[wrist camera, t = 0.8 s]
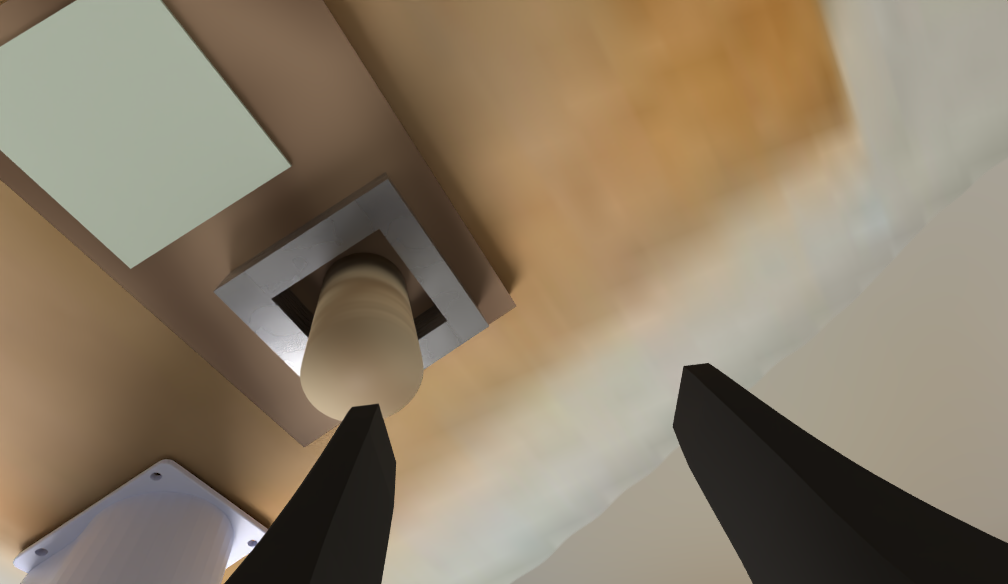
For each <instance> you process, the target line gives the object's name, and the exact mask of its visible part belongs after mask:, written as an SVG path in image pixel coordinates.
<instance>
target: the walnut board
mask: <svg viewBox="0 0 1008 584" xmlns="http://www.w3.org/2000/svg"><path fill="white" fill-rule="evenodd" d="M74 1H76V0H8V1H6V2H5V3H3V4H1V5H0V47H1V46H2V45H4V44H6V43H7V42H9V41H10V40H12V39H14V38H15V37H17V36H19V35H20V34H22V33H24V32H25V31H27V30H28V29H30V28H32V27H33V26H35V25H37V24H38V23H40V22H42V21H43V20H45V19H46V18H48V17H50V16H51V15H53V14H55V13H56V12H58V11H60V10H61V9H63V8H64V7H66V6H68V5H69V4H71V3H73V2H74ZM162 1H163V2H164V3H165V5H166V6H167V7H168V9H169V10H170V11H171V12H172V14H173V15H174V16H175V17H176V19H177V20H178V21H179V23H180V24H181V25H182V26H183V28H184V29H185V30H186V31H187V33H188V34H189V35H190V37H191V38H192V39H193V40H194V42H195V43H196V44H197V45H198V47H199V48H200V49H201V51H202V52H203V53H204V54H205V56H206V57H207V58H208V59H209V61H210V62H211V63H212V65H213V66H214V67H215V68H216V70H217V71H218V72H219V73H220V75H221V76H222V77H223V78H224V80H225V81H226V82H227V84H228V85H229V86H230V87H231V89H232V90H233V91H234V92H235V94H236V95H237V96H238V98H239V99H240V100H241V101H242V103H243V104H244V105H245V106H246V108H247V109H248V110H249V112H250V113H251V114H252V115H253V117H254V118H255V119H256V120H257V122H258V123H259V124H260V126H261V127H262V128H263V129H264V131H265V132H266V133H267V134H268V136H269V137H270V138H271V140H272V141H273V142H274V143H275V145H276V146H277V147H278V148H279V150H280V151H281V152H282V154H283V155H284V156H285V157H286V159H287V160H288V161H289V162H290V164H291V165H292V166H291V167H289V168H288V169H286V170H285V171H283V172H282V173H280V174H278V175H277V176H275V177H274V178H272V179H271V180H269V181H268V182H266V183H264V184H263V185H261V186H260V187H258V188H257V189H255V190H253V191H252V192H250V193H249V194H247V195H246V196H244V197H242V198H241V199H239V200H238V201H236V202H235V203H233V204H231V205H230V206H228V207H227V208H225V209H224V210H222V211H221V212H219V213H217V214H216V215H214V216H213V217H211V218H210V219H208V220H206V221H205V222H203V223H202V224H200V225H199V226H197V227H195V228H194V229H192V230H191V231H189V232H188V233H186V234H184V235H183V236H181V237H180V238H178V239H177V240H175V241H174V242H172V243H170V244H169V245H167V246H166V247H164V248H163V249H161V250H159V251H158V252H156V253H155V254H153V255H152V256H150V257H148V258H147V259H145V260H144V261H142V262H141V263H139V264H138V265H136V266H134V267H133V268H131V269H130V268H129V267H128V266H127V265H126V264H125V263H124V262H123V261H121V260H120V259H119V258H118V257H117V256H116V255H115V254H114V253H113V252H112V251H111V250H109V249H108V248H107V247H106V246H105V245H104V244H103V243H102V242H101V241H100V240H98V239H97V238H96V237H95V236H94V235H93V234H92V233H91V232H90V231H89V230H87V229H86V228H85V227H84V226H83V225H82V224H81V223H80V222H79V221H78V220H77V219H75V218H74V217H73V216H72V215H71V214H70V213H69V212H68V211H67V210H66V209H64V208H63V207H62V206H61V205H60V204H59V203H58V202H57V201H56V200H55V199H54V198H52V197H51V196H50V195H49V194H48V193H47V192H46V191H45V190H44V189H43V188H41V187H40V186H39V185H38V184H37V183H36V182H35V181H34V180H33V179H32V178H30V177H29V176H28V175H27V174H26V173H25V172H24V171H23V170H22V169H21V168H20V167H18V166H17V165H16V164H15V163H14V162H13V161H12V160H11V159H10V158H9V157H7V156H6V155H5V154H4V153H3V152H2V151H1V150H0V180H2V181H3V182H4V183H5V184H6V185H7V186H8V187H10V188H11V189H12V190H13V191H14V192H15V193H16V194H17V195H19V196H20V197H21V198H22V199H23V200H24V201H25V202H27V203H28V204H29V205H30V206H31V207H32V208H33V209H34V210H36V211H37V212H38V213H39V214H40V215H41V216H42V217H44V218H45V219H46V220H47V221H48V222H49V223H50V224H51V225H53V226H54V227H55V228H56V229H57V230H58V231H59V232H61V233H62V234H63V235H64V236H65V237H66V238H67V239H68V240H70V241H71V242H72V243H73V244H74V245H75V246H76V247H78V248H79V249H80V250H81V251H82V252H83V253H84V254H85V255H87V256H88V257H89V258H90V259H91V260H92V261H93V262H95V263H96V264H97V265H98V266H99V267H100V268H101V269H102V270H104V271H105V272H106V273H107V274H108V275H109V276H110V277H112V278H113V279H114V280H115V281H116V282H117V283H118V284H119V285H121V286H122V287H123V288H124V289H125V290H126V291H127V292H129V293H130V294H131V295H132V296H133V297H134V298H135V299H136V300H138V301H139V302H140V303H141V304H142V305H143V306H144V307H146V308H147V309H148V310H149V311H150V312H151V313H152V314H153V315H155V316H156V317H157V318H158V319H159V320H160V321H161V322H163V323H164V324H165V325H166V326H167V327H168V328H169V329H170V330H172V331H173V332H174V333H175V334H176V335H177V336H178V337H180V338H181V339H182V340H183V341H184V342H185V343H186V344H187V345H189V346H190V347H191V348H192V349H193V350H194V351H195V352H197V353H198V354H199V355H200V356H201V357H202V358H203V359H204V360H206V361H207V362H208V363H209V364H210V365H211V366H212V367H214V368H215V369H216V370H217V371H218V372H219V373H220V374H221V375H223V376H224V377H225V378H226V379H227V380H228V381H229V382H231V383H232V384H233V385H234V386H235V387H236V388H237V389H238V390H240V391H241V392H242V393H243V394H244V395H245V396H246V397H248V398H249V399H250V400H251V401H252V402H253V403H254V404H255V405H257V406H258V407H259V408H260V409H261V410H262V411H263V412H265V413H266V414H267V415H268V416H269V417H270V418H271V419H272V420H274V421H275V422H276V423H277V424H278V425H279V426H280V427H282V428H283V429H284V430H285V431H286V432H287V433H288V434H289V435H291V436H292V437H293V438H294V439H295V440H296V441H297V442H299V443H300V444H301V445H302V446H303V447H306V446H307V445H309V444H310V443H312V442H313V441H315V440H316V439H318V438H319V437H321V436H322V435H324V434H325V433H327V432H328V431H330V430H331V429H333V428H334V427H336V426H337V425H339V424H340V423H341V422H342V421H339V420H336V419H333V418H331V417H329V416H326V415H325V414H323V413H322V412H320V411H319V410H318V409H316V408H315V407H314V406H313V405H312V404H311V403H310V401H309V400H308V398H307V397H306V395H305V393H304V391H303V388H302V385H301V379H300V376H299V375H298V374H297V373H296V372H295V371H294V370H292V369H291V368H290V367H289V366H288V365H287V364H286V363H285V362H284V361H283V360H282V359H281V358H280V357H279V356H278V355H277V354H276V353H275V352H274V351H273V350H272V349H271V348H270V347H269V346H268V345H267V344H266V343H265V342H264V341H263V340H262V339H261V338H260V337H259V336H258V335H257V334H256V333H255V332H254V331H253V330H252V329H251V328H250V327H249V326H248V325H247V324H246V323H244V322H243V321H242V320H241V319H240V318H239V317H238V316H237V315H236V314H235V313H234V312H233V311H232V310H231V309H230V308H229V307H228V306H227V305H226V304H225V303H224V302H223V301H222V300H221V299H220V298H219V297H218V296H217V295H216V294H215V293H214V292H213V291H214V290H215V289H216V288H217V287H218V285H219V284H220V283H221V282H222V281H223V280H224V279H225V277H226V276H227V275H228V274H229V273H230V272H231V271H233V270H234V269H236V268H237V267H239V266H240V265H242V264H244V263H245V262H247V261H248V260H250V259H251V258H253V257H254V256H256V255H258V254H259V253H261V252H262V251H264V250H265V249H267V248H268V247H270V246H272V245H273V244H275V243H276V242H278V241H279V240H281V239H282V238H284V237H285V236H287V235H289V234H290V233H292V232H293V231H295V230H296V229H298V228H299V227H301V226H303V225H304V224H306V223H307V222H309V221H310V220H312V219H313V218H315V217H317V216H318V215H320V214H321V213H323V212H324V211H326V210H327V209H329V208H330V207H332V206H334V205H335V204H337V203H338V202H340V201H341V200H343V199H344V198H346V197H348V196H349V195H351V194H352V193H354V192H355V191H357V190H358V189H360V188H361V187H363V186H365V185H366V184H368V183H369V182H371V181H372V180H374V179H375V178H377V177H379V176H380V175H382V174H383V173H385V172H386V173H387V175H388V176H389V178H390V179H391V181H392V182H393V184H394V185H395V187H396V188H397V189H398V191H399V192H400V194H401V195H402V197H403V198H404V200H405V201H406V203H407V204H408V205H409V207H410V208H411V210H412V211H413V213H414V214H415V216H416V217H417V219H418V220H419V222H420V223H421V224H422V226H423V227H424V229H425V230H426V232H427V233H428V235H429V236H430V238H431V239H432V240H433V242H434V243H435V245H436V246H437V248H438V249H439V251H440V252H441V254H442V255H443V256H444V258H445V259H446V261H447V262H448V264H449V265H450V267H451V268H452V270H453V271H454V273H455V274H456V275H457V277H458V278H459V280H460V281H461V283H462V284H463V286H464V287H465V289H466V290H467V291H468V293H469V294H470V296H471V297H472V299H473V300H474V302H475V303H476V305H477V306H478V308H479V309H480V311H481V313H482V315H483V316H484V318H485V320H486V322H487V323H488V325H489V324H490V323H492V322H493V321H495V320H496V319H498V318H500V317H501V316H503V315H504V314H506V313H507V312H509V311H510V310H512V309H513V308H515V307H516V304H515V303H514V301H513V300H512V298H511V296H510V295H509V293H508V292H507V290H506V289H505V287H504V285H503V284H502V282H501V281H500V279H499V278H498V276H497V274H496V273H495V271H494V270H493V268H492V266H491V265H490V263H489V262H488V260H487V259H486V257H485V255H484V254H483V252H482V251H481V249H480V247H479V246H478V244H477V243H476V241H475V240H474V238H473V236H472V235H471V233H470V232H469V230H468V229H467V227H466V225H465V224H464V222H463V221H462V219H461V217H460V216H459V214H458V213H457V211H456V210H455V208H454V206H453V205H452V203H451V202H450V200H449V199H448V197H447V195H446V194H445V192H444V191H443V189H442V187H441V186H440V184H439V183H438V181H437V180H436V178H435V176H434V175H433V173H432V172H431V170H430V169H429V167H428V165H427V164H426V162H425V161H424V159H423V157H422V156H421V154H420V153H419V151H418V150H417V148H416V146H415V145H414V143H413V142H412V140H411V139H410V137H409V135H408V134H407V132H406V131H405V129H404V127H403V126H402V124H401V123H400V121H399V120H398V118H397V116H396V115H395V113H394V112H393V110H392V109H391V107H390V105H389V104H388V102H387V101H386V99H385V97H384V96H383V94H382V93H381V91H380V90H379V88H378V86H377V85H376V83H375V82H374V80H373V79H372V77H371V75H370V74H369V72H368V71H367V69H366V67H365V66H364V64H363V63H362V61H361V60H360V58H359V56H358V55H357V53H356V52H355V50H354V49H353V47H352V45H351V44H350V42H349V41H348V39H347V37H346V36H345V34H344V33H343V31H342V30H341V28H340V26H339V25H338V23H337V22H336V20H335V19H334V17H333V15H332V14H331V12H330V11H329V9H328V7H327V6H326V4H325V3H324V1H323V0H162ZM364 252H366V253H374V254H378V255H380V256H383V257H385V258H387V259H388V260H390V261H391V262H392V263H394V264H395V265H396V266H397V268H398V269H399V270H400V272H401V273H402V275H403V277H404V280H405V284H406V289H407V293H408V297H409V302H410V306H411V311H412V315H413V319H414V318H416V317H417V316H419V315H420V314H422V313H423V312H425V311H426V310H428V309H429V308H431V307H432V306H434V305H435V303H434V302H433V301H432V299H431V298H430V297H429V295H428V294H427V293H426V291H425V290H424V289H423V287H422V286H421V285H420V283H419V282H418V281H417V279H416V278H415V276H414V275H413V274H412V272H411V271H410V270H409V268H408V267H407V266H406V264H405V263H404V262H403V260H402V259H401V258H400V256H399V255H398V254H397V252H396V251H395V249H394V248H393V247H392V245H391V244H390V243H389V241H388V240H387V239H386V237H385V236H384V235H383V233H382V232H381V231H380V229H378V230H376V231H375V232H373V233H372V234H370V235H369V236H367V237H366V238H364V239H363V240H361V241H359V242H358V243H356V244H355V245H353V246H352V247H350V248H349V249H347V250H346V251H344V252H343V253H341V254H339V255H338V256H336V257H335V258H333V259H332V260H330V261H329V262H327V263H326V264H324V265H323V266H321V267H319V268H318V269H316V270H315V271H313V272H312V273H310V274H309V275H307V276H306V277H304V278H303V279H301V280H299V281H298V282H296V283H295V284H293V285H292V286H290V287H289V288H290V290H291V291H292V292H293V293H294V294H295V295H296V296H297V297H298V298H299V299H300V300H301V302H302V303H303V304H304V305H305V306H306V307H307V308H308V309H309V310H310V311H311V312H312V314H313V315H314V314H315V311H316V307H317V303H318V299H319V295H320V292H321V288H322V284H323V280H324V278H325V275H326V273H327V272H328V270H329V269H330V267H331V266H332V265H333V264H334V263H335V262H337V261H338V260H339V259H341V258H343V257H345V256H347V255H350V254H354V253H364Z"/></svg>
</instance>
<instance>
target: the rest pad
mask: <svg viewBox="0 0 1008 584" xmlns="http://www.w3.org/2000/svg"><path fill="white" fill-rule="evenodd" d="M0 150H1V151H2V152H3V153H4V154H5V155H6V156H7V157H9V158H10V159H11V160H12V161H13V162H14V163H15V164H16V165H17V166H18V167H20V168H21V169H22V170H23V171H24V172H25V173H26V174H27V175H28V176H29V177H30V178H32V179H33V180H34V181H35V182H36V183H37V184H38V185H39V186H40V187H41V188H43V189H44V190H45V191H46V192H47V193H48V194H49V195H50V196H51V197H52V198H54V199H55V200H56V201H57V202H58V203H59V204H60V205H61V206H62V207H63V208H64V209H66V210H67V211H68V212H69V213H70V214H71V215H72V216H73V217H74V218H75V219H77V220H78V221H79V222H80V223H81V224H82V225H83V226H84V227H85V228H86V229H87V230H89V231H90V232H91V233H92V234H93V235H94V236H95V237H96V238H97V239H98V240H100V241H101V242H102V243H103V244H104V245H105V246H106V247H107V248H108V249H109V250H111V251H112V252H113V253H114V254H115V255H116V256H117V257H118V258H119V259H120V260H121V261H123V262H124V263H125V264H126V265H127V266H128V267H129V268H130V269H131V268H133V267H134V266H136V265H138V264H139V263H141V262H142V261H144V260H145V259H147V258H148V257H150V256H152V255H153V254H155V253H156V252H158V251H159V250H161V249H163V248H164V247H166V246H167V245H169V244H170V243H172V242H174V241H175V240H177V239H178V238H180V237H181V236H183V235H184V234H186V233H188V232H189V231H191V230H192V229H194V228H195V227H197V226H199V225H200V224H202V223H203V222H205V221H206V220H208V219H210V218H211V217H213V216H214V215H216V214H217V213H219V212H221V211H222V210H224V209H225V208H227V207H228V206H230V205H231V204H233V203H235V202H236V201H238V200H239V199H241V198H242V197H244V196H246V195H247V194H249V193H250V192H252V191H253V190H255V189H257V188H258V187H260V186H261V185H263V184H264V183H266V182H268V181H269V180H271V179H272V178H274V177H275V176H277V175H278V174H280V173H282V172H283V171H285V170H286V169H288V168H289V167H291V166H292V165H291V164H290V162H289V161H288V160H287V159H286V157H285V156H284V155H283V154H282V152H281V151H280V150H279V148H278V147H277V146H276V145H275V143H274V142H273V141H272V140H271V138H270V137H269V136H268V134H267V133H266V132H265V131H264V129H263V128H262V127H261V126H260V124H259V123H258V122H257V120H256V119H255V118H254V117H253V115H252V114H251V113H250V112H249V110H248V109H247V108H246V106H245V105H244V104H243V103H242V101H241V100H240V99H239V98H238V96H237V95H236V94H235V92H234V91H233V90H232V89H231V87H230V86H229V85H228V84H227V82H226V81H225V80H224V78H223V77H222V76H221V75H220V73H219V72H218V71H217V70H216V68H215V67H214V66H213V65H212V63H211V62H210V61H209V59H208V58H207V57H206V56H205V54H204V53H203V52H202V51H201V49H200V48H199V47H198V45H197V44H196V43H195V42H194V40H193V39H192V38H191V37H190V35H189V34H188V33H187V31H186V30H185V29H184V28H183V26H182V25H181V24H180V23H179V21H178V20H177V19H176V17H175V16H174V15H173V14H172V12H171V11H170V10H169V9H168V7H167V6H166V5H165V3H164V2H163V1H162V0H76V1H74V2H73V3H71V4H69V5H68V6H66V7H64V8H63V9H61V10H60V11H58V12H56V13H55V14H53V15H51V16H50V17H48V18H46V19H45V20H43V21H42V22H40V23H38V24H37V25H35V26H33V27H32V28H30V29H28V30H27V31H25V32H24V33H22V34H20V35H19V36H17V37H15V38H14V39H12V40H10V41H9V42H7V43H6V44H4V45H2V46H1V47H0Z"/></svg>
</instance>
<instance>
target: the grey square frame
mask: <svg viewBox="0 0 1008 584" xmlns="http://www.w3.org/2000/svg"><path fill="white" fill-rule="evenodd" d="M378 229H380V231H381V232H382V233H383V235H384V236H385V237H386V239H387V240H388V241H389V243H390V244H391V245H392V247H393V248H394V249H395V251H396V252H397V254H398V255H399V256H400V258H401V259H402V260H403V262H404V263H405V264H406V266H407V267H408V268H409V270H410V271H411V272H412V274H413V275H414V276H415V278H416V279H417V281H418V282H419V283H420V285H421V286H422V287H423V289H424V290H425V291H426V293H427V294H428V295H429V297H430V298H431V299H432V301H433V302H434V303H435V305H434V306H432V307H431V308H429V309H428V310H426V311H425V312H423V313H422V314H420V315H419V316H417V317H416V318H414V319H413V320H414V324H415V328H416V333H417V337H418V342H419V346H420V350H421V355H422V360H423V370H424V369H425V368H427V367H428V366H430V365H431V364H433V363H434V362H436V361H437V360H439V359H440V358H442V357H443V356H445V355H446V354H448V353H449V352H451V351H452V350H454V349H455V348H457V347H458V346H460V345H461V344H463V343H464V342H466V341H467V340H469V339H470V338H472V337H473V336H475V335H476V334H478V333H479V332H481V331H482V330H484V329H486V328H487V327H489V325H488V323H487V322H486V320H485V318H484V316H483V315H482V313H481V311H480V309H479V308H478V306H477V305H476V303H475V302H474V300H473V299H472V297H471V296H470V294H469V293H468V291H467V290H466V289H465V287H464V286H463V284H462V283H461V281H460V280H459V278H458V277H457V275H456V274H455V273H454V271H453V270H452V268H451V267H450V265H449V264H448V262H447V261H446V259H445V258H444V256H443V255H442V254H441V252H440V251H439V249H438V248H437V246H436V245H435V243H434V242H433V240H432V239H431V238H430V236H429V235H428V233H427V232H426V230H425V229H424V227H423V226H422V224H421V223H420V222H419V220H418V219H417V217H416V216H415V214H414V213H413V211H412V210H411V208H410V207H409V205H408V204H407V203H406V201H405V200H404V198H403V197H402V195H401V194H400V192H399V191H398V189H397V188H396V187H395V185H394V184H393V182H392V181H391V179H390V178H389V176H388V175H387V173H386V172H385V173H383V174H382V175H380V176H379V177H377V178H375V179H374V180H372V181H371V182H369V183H368V184H366V185H365V186H363V187H361V188H360V189H358V190H357V191H355V192H354V193H352V194H351V195H349V196H348V197H346V198H344V199H343V200H341V201H340V202H338V203H337V204H335V205H334V206H332V207H330V208H329V209H327V210H326V211H324V212H323V213H321V214H320V215H318V216H317V217H315V218H313V219H312V220H310V221H309V222H307V223H306V224H304V225H303V226H301V227H299V228H298V229H296V230H295V231H293V232H292V233H290V234H289V235H287V236H285V237H284V238H282V239H281V240H279V241H278V242H276V243H275V244H273V245H272V246H270V247H268V248H267V249H265V250H264V251H262V252H261V253H259V254H258V255H256V256H254V257H253V258H251V259H250V260H248V261H247V262H245V263H244V264H242V265H240V266H239V267H237V268H236V269H234V270H233V271H231V272H230V273H229V274H228V275H227V276H226V277H225V279H224V280H223V281H222V282H221V283H220V284H219V285H218V287H217V288H216V289H215V290H214V291H213V292H214V293H215V294H216V295H217V296H218V297H219V298H220V299H221V300H222V301H223V302H224V303H225V304H226V305H227V306H228V307H229V308H230V309H231V310H232V311H233V312H234V313H235V314H236V315H237V316H238V317H239V318H240V319H241V320H242V321H243V322H244V323H246V324H247V325H248V326H249V327H250V328H251V329H252V330H253V331H254V332H255V333H256V334H257V335H258V336H259V337H260V338H261V339H262V340H263V341H264V342H265V343H266V344H267V345H268V346H269V347H270V348H271V349H272V350H273V351H274V352H275V353H276V354H277V355H278V356H279V357H280V358H281V359H282V360H283V361H284V362H285V363H286V364H287V365H288V366H289V367H290V368H291V369H292V370H294V371H295V372H296V373H297V374H298V375H299V376H300V369H301V364H302V360H303V356H304V352H305V349H306V345H307V341H308V337H309V333H310V330H311V326H312V322H313V318H314V315H313V314H312V312H311V311H310V310H309V309H308V308H307V307H306V306H305V305H304V304H303V303H302V302H301V300H300V299H299V298H298V297H297V296H296V295H295V294H294V293H293V292H292V291H291V290H290V288H289V287H290V286H292V285H293V284H295V283H296V282H298V281H299V280H301V279H303V278H304V277H306V276H307V275H309V274H310V273H312V272H313V271H315V270H316V269H318V268H319V267H321V266H323V265H324V264H326V263H327V262H329V261H330V260H332V259H333V258H335V257H336V256H338V255H339V254H341V253H343V252H344V251H346V250H347V249H349V248H350V247H352V246H353V245H355V244H356V243H358V242H359V241H361V240H363V239H364V238H366V237H367V236H369V235H370V234H372V233H373V232H375V231H376V230H378Z"/></svg>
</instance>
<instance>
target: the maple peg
mask: <svg viewBox="0 0 1008 584" xmlns="http://www.w3.org/2000/svg"><path fill="white" fill-rule="evenodd" d="M422 378H423V360H422V355H421V350H420V346H419V342H418V337H417V333H416V328H415V324H414V320H413V315H412V311H411V306H410V302H409V297H408V293H407V289H406V284H405V280H404V277H403V275H402V273H401V272H400V270H399V269H398V268H397V266H396V265H395V264H394V263H392V262H391V261H390V260H388V259H387V258H385V257H383V256H380V255H378V254H374V253H366V252H364V253H354V254H350V255H347V256H345V257H343V258H341V259H339V260H338V261H337V262H335V263H334V264H333V265H332V266H331V267H330V269H329V270H328V272H327V273H326V275H325V278H324V280H323V284H322V288H321V292H320V295H319V299H318V303H317V307H316V311H315V314H314V318H313V322H312V326H311V330H310V333H309V337H308V341H307V345H306V349H305V352H304V356H303V360H302V364H301V369H300V379H301V385H302V388H303V391H304V393H305V395H306V397H307V398H308V400H309V401H310V403H311V404H312V405H313V406H314V407H315V408H316V409H318V410H319V411H320V412H322V413H323V414H325V415H326V416H329V417H331V418H333V419H336V420H339V421H343V419H344V417H345V416H346V414H347V412H348V411H349V410H350V409H351V408H352V407H355V406H363V405H371V404H379V406H380V409H381V413H382V416H383V419H384V418H387V417H389V416H391V415H393V414H395V413H396V412H398V411H400V410H401V409H402V408H404V407H405V406H406V405H407V404H408V403H409V402H410V401H411V400H412V398H413V397H414V396H415V394H416V393H417V391H418V389H419V387H420V385H421V382H422Z"/></svg>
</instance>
